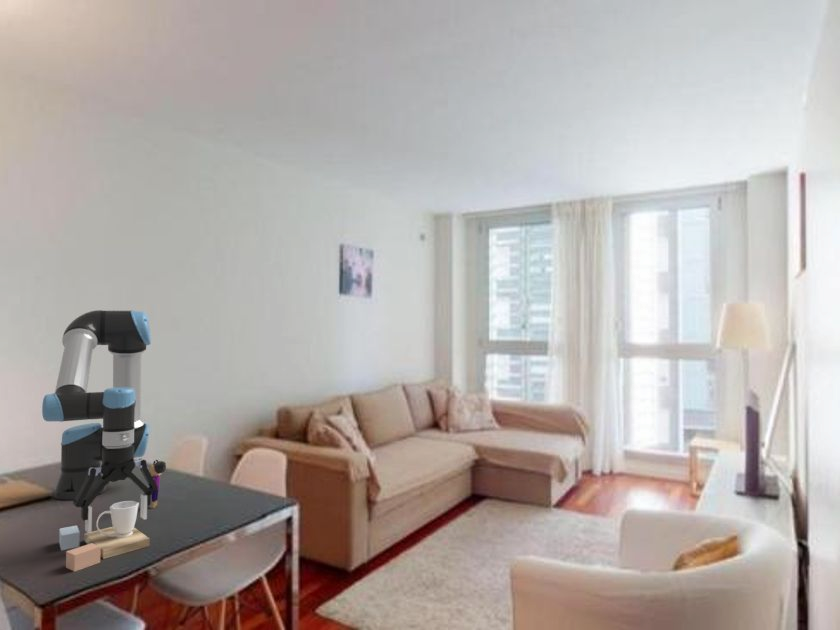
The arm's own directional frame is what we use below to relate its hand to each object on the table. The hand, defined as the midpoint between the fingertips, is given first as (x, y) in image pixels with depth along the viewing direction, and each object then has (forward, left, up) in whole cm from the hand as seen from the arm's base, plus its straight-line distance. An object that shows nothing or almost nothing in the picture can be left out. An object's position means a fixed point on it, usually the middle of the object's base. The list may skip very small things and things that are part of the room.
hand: (116, 524), depth 145 cm
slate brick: (-8, -9, -5) cm, 13 cm away
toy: (-22, +19, -5) cm, 30 cm away
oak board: (0, 0, -5) cm, 5 cm away
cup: (0, 0, -3) cm, 3 cm away
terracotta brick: (+8, -10, -5) cm, 14 cm away
